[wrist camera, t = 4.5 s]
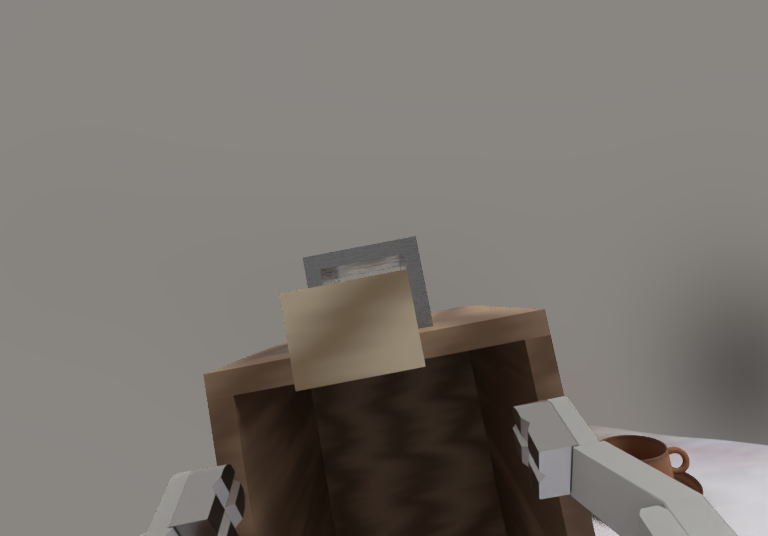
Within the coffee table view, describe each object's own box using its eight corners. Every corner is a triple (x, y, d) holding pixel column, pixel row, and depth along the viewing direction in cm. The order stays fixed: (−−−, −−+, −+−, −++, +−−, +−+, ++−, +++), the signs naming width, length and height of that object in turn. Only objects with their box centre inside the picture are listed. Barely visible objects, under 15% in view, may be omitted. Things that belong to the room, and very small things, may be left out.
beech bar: (400, 320, 40) (394, 290, 40) (425, 366, 12) (406, 269, 12) (360, 327, 40) (355, 298, 40) (295, 391, 12) (279, 293, 12)
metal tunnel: (421, 318, 36) (408, 253, 37) (433, 325, 26) (415, 236, 27) (338, 334, 36) (326, 269, 37) (318, 348, 26) (302, 257, 27)
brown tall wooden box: (521, 550, 42) (470, 304, 44) (654, 799, 21) (544, 309, 23) (333, 586, 42) (291, 339, 44) (278, 872, 21) (203, 374, 23)
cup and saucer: (636, 467, 54) (625, 421, 55) (734, 505, 43) (720, 447, 43) (564, 496, 51) (553, 446, 51) (651, 546, 39) (635, 481, 40)
